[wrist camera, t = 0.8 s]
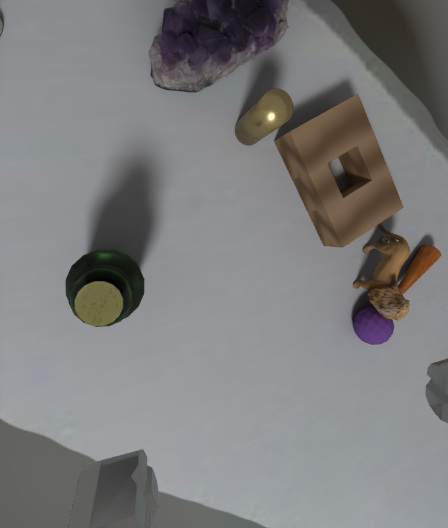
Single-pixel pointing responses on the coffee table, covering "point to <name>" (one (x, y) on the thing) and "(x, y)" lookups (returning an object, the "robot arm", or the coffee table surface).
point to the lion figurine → (387, 277)
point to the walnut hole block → (354, 164)
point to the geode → (212, 40)
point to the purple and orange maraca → (381, 328)
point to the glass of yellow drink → (264, 116)
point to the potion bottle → (104, 287)
